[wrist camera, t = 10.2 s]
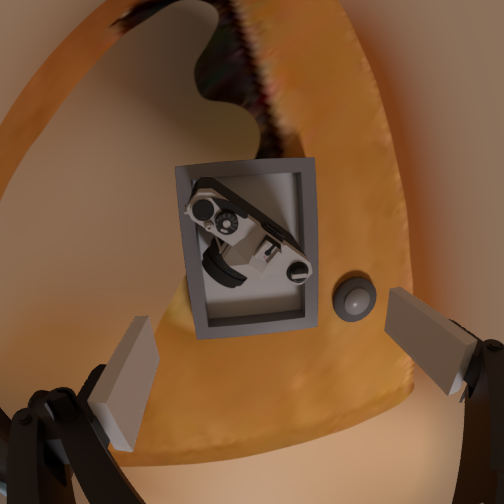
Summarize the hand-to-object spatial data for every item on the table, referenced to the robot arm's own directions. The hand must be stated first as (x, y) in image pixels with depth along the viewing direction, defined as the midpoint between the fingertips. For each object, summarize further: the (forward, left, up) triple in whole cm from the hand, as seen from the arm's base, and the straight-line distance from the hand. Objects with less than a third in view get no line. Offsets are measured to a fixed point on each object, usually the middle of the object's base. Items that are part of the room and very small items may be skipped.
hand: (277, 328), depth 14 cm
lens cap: (+13, -8, -19) cm, 24 cm away
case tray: (0, 0, -18) cm, 18 cm away
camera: (-1, +2, -17) cm, 17 cm away
